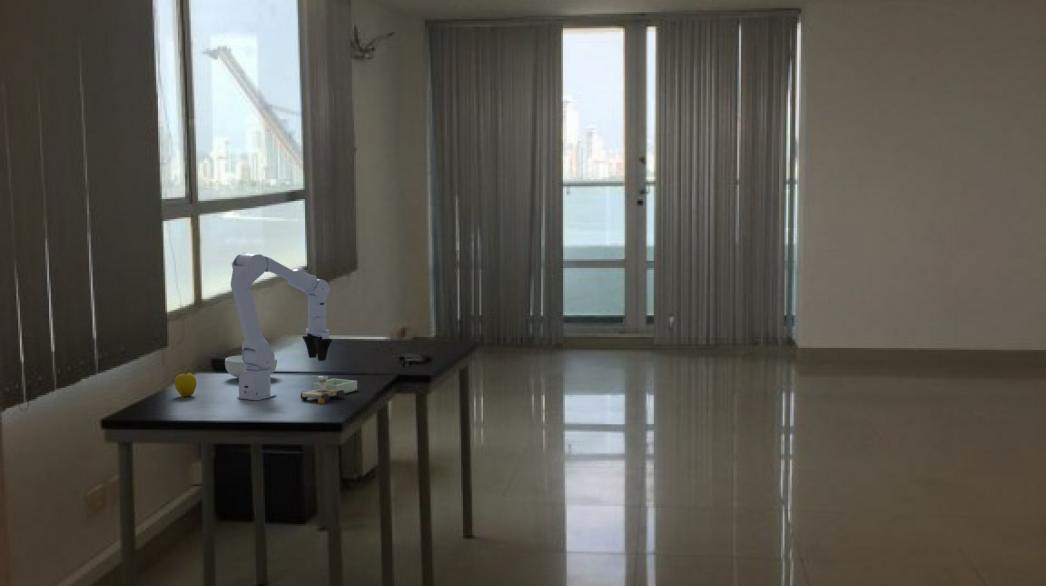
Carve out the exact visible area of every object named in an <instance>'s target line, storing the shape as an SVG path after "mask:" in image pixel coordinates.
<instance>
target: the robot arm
mask: <svg viewBox="0 0 1046 586" xmlns="http://www.w3.org/2000/svg"><path fill="white" fill-rule="evenodd" d="M231 266H232V273H231V280H230V288H231V292H232V297H233V300H234V304H235V307H236V312H237V316H238V319H239V323H240V326H241V330H242V334H243V337H244V340H243V342H241V349H242V352H241V355H242V360H243V362H244V363H245V364H246V370H245V371H244V372H242V373H241V374H240V376H239V378H238V396H236V399H241V400H252V401H260V400H264V399H269V398H274V397H277V396H278V395H277V394H276V393H271V375H270V369H271V365H272V364H273V363H274V359H275V358H276V357H275V356H276V355H275V353H274V350H272V348H271V347H270V344H269V342H268V341H267V339H266V338H265V337H264V336H263V332H262V329H261V324H260V320H259V316H258V312H257V308H256V305H255V300H254V297H253V292H252V289H251V287H252V285H253V284H254V283H255V282H256V281H257V280H258V279H259V278H260V277H261V276H262V275H263V274H265V273H271V274H274V275H276V276H278V277H281V278H283V279H284V280H285V279H286V280H287V282H288V283H287V284H288V285H289V286H291V287H293V288H294V289H298V290H299V291H302V292H303V293H304V294H305V295H306V296H307V327H306V328H305V335H303V336H302V339H303V341H304V343H305V347H306V350H307V355H308V357H309V358H310V359H315V358H317V361H318V362H321V361H322V362H323V361H324V362H325V361H326V358H327V356H328V355H327V354H328V351H329V348H330V346H331V343H332V342H333V339H332V338H330V331H331V330H330V329H327V301H328V296H329V294H330V291H331V287H330V286H329V283H328V282H327V281H326V279H320V278H317V275H315V274H309V273H308V272H306V269H304V268H303V267H301V268H300V267H299V268H294V269H291V268H290V267H287V266H286V265H284V264H282V263H280V262H278V261H277V260H275V259H273V258H271V257H268V256H264V255H263V254H261V253H256V254H255V253H254V254H253V253H247V252H241V253H239V254H237V255H236V256H235V258H234V259H233V261H232V262H231Z"/></svg>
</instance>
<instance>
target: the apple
mask: <svg viewBox="0 0 1046 586" xmlns="http://www.w3.org/2000/svg"><path fill="white" fill-rule="evenodd" d="M196 387H197V379H196V377H195V375H194V373H191V372H189V370H187V371H186V372H184V373H180V374H178V375H176V376H175V379H174V388H175V389H176V391H177V392H178V393H179V395H180V396H181V397H183V398H187V397H190V396H193V395H194V393H195V391H196Z"/></svg>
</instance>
